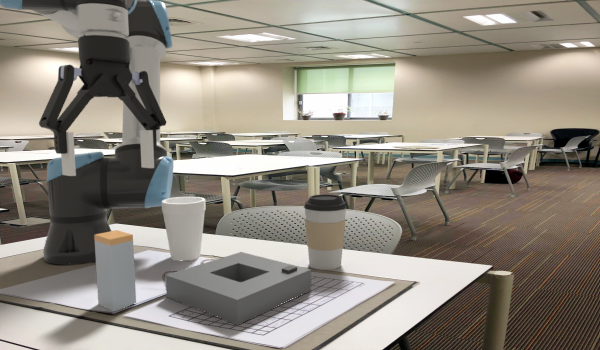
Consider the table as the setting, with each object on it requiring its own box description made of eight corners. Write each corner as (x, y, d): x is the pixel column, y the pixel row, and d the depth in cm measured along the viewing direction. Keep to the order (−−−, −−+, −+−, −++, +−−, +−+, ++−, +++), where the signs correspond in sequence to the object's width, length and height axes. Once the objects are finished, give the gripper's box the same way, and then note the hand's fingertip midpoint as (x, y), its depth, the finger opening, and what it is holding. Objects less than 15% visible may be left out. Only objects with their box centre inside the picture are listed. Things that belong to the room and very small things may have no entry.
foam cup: (161, 253, 108) (159, 198, 107) (201, 249, 112) (200, 195, 110) (167, 265, 99) (164, 205, 98) (210, 260, 103) (208, 202, 102)
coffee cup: (297, 268, 97) (297, 197, 95) (312, 256, 106) (312, 190, 104) (339, 273, 94) (339, 199, 92) (351, 260, 102) (352, 193, 100)
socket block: (166, 297, 82) (165, 271, 81) (241, 270, 96) (240, 249, 95) (238, 325, 71) (237, 296, 70) (310, 290, 84) (310, 266, 84)
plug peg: (98, 304, 79) (94, 234, 78) (120, 297, 82) (116, 230, 81) (114, 311, 76) (110, 239, 74) (136, 304, 79) (132, 234, 78)
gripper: (29, 21, 62) (40, 181, 64) (183, 44, 81) (187, 166, 84) (6, 28, 66) (18, 177, 69) (158, 48, 86) (162, 163, 88)
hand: (111, 171), depth 76 cm, fingers open, 13 cm apart
